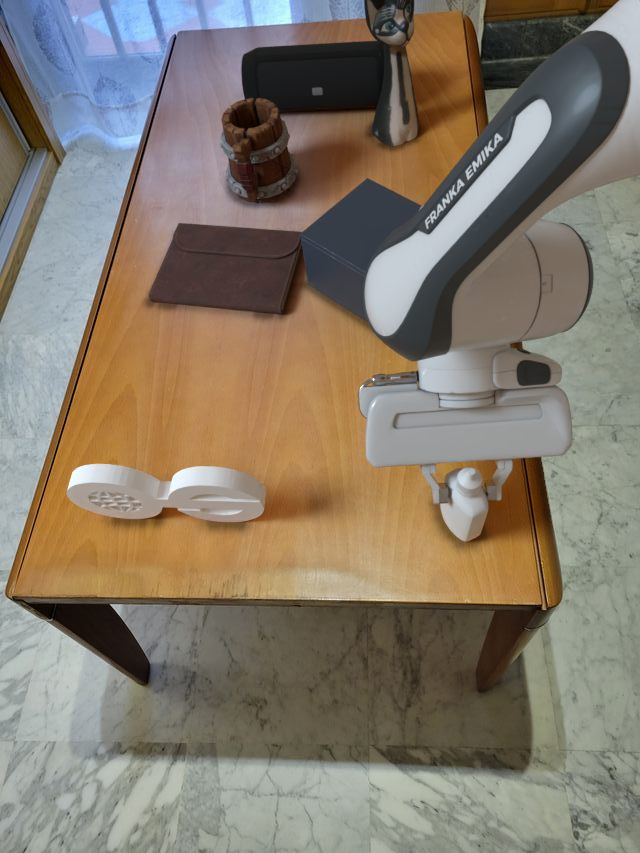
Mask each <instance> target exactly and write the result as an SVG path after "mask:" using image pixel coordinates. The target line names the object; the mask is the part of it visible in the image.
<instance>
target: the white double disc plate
mask: <svg viewBox="0 0 640 853" xmlns="http://www.w3.org/2000/svg"><path fill="white" fill-rule="evenodd" d="M260 481H261V480H259V479H258V478H256V477H255V476H253V475H250V474H248V473H246V472H243V471H241V470H237V469H233V468H228V467H223V466H213V465H211V466H209V465H207V466H206V465H205V466H204V465H202V466H201V465H198V466H191V467H186V468H183V469H181V470H179V471H177V472H175V474H174V475H173V476H172V478H171V480H160V479H158V478H156V477H155V476H153V475H151V474H149V473H147V472H145V471H142V470H139V469H136V468H133V467H128V466H125V465H119V464H110V463H90V464H85V465H81V466H79V467H76V468H75V469H73V471H72V473H71V476H70V480H69V482H68V486H67V488H66V497H67V499H69V500H70V501H71V502H72V503H73V504H74V505H76V506H77V507H79V508H81V509H84V510H86V511H88V512H91V513H94V514H98V515H101V516H105V517H110V518H116V519H122V520H123V519H124V520H143V519H148V518H154V517H156V516H158V515H159V514H161V513H162V510H163V508H177V511H179V512H180V513H183V514H185V515H188V516H191V517H193V518H196V519H199V520H205V521H210V522H219V523H240V522H241V523H242V522H248V521H252V520H254V519H257V518H259V517H261V515H262V514H263V513H264V511H265V505H266V495H267V489H266V486H265V484H264V483H261V482H260Z"/></svg>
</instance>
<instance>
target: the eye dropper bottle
mask: <svg viewBox="0 0 640 853" xmlns="http://www.w3.org/2000/svg"><path fill="white" fill-rule="evenodd" d="M483 480H484V478H483V475H482V473H481V472H480V471H479V470H478V469H476V468H474V467H470V466H469V467H464V468H461V467H458V468H455V469H452V470H451V471H449V472H448V473H446V474H445V476H444V480H443V483H446V484H447V487H448V493H449V495H448V498H449V503H446V504H439V506H440V512H441V516H442V518H443V521H444V522H445V525H446V526H447V528H448V530H450V531H451V533H453V535H454V536H455V537H457V538H458V539H459V540H461V541H462V542H466V543H467V542H470V541H471V540H472V541H473V539H476V538H478V537H479V536H480V535H481V534H482V531H483V529H484V528H483V527H484V525H485V522H486V519H487V516H488V512H489V501H488V500H487V496H486V493H485V491H484V489H485V488H484V486H483V485H482V484H483Z"/></svg>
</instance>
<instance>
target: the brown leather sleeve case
mask: <svg viewBox="0 0 640 853" xmlns="http://www.w3.org/2000/svg"><path fill="white" fill-rule="evenodd" d="M302 232H303V231H297V230H295V231H294V230H283V229H268V228H253V227H243V226H242V227H240V226H226V225H214V224H197V223H187V222H186V223H184V222H178V223H177V226H176V228H175V230H174V232H173V235H172V240H171V242H170V244H169V246H168V249H167V251H166V254H165V255H164V258H163V260H162V262H161V265H160V267H159V269H158V272H157V274H156V277H155V279H154V281H153V283H152V286H151V287H150V290H149V293H148V299H149V301H150V302H153V303H162V304H163V303H164V304H171V305H172V304H173V305H182V306H194V307H204V308H213V309H222V310H223V309H224V310H235V311H243V312H244V311H245V312H253V313H254V312H255V313H266V314H276V315H283V314H284V311H285V307H286V304H287V300H288V297H289V293H290V291H291V287H292V284H293V280H294V276H295V273H296V270H297V267H298V265H299V264H298V262H299V260H300V257H301V253H302V251H303V248H302V242H301V236H300V233H302Z"/></svg>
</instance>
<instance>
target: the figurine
mask: <svg viewBox="0 0 640 853" xmlns="http://www.w3.org/2000/svg"><path fill="white" fill-rule="evenodd" d="M363 4H364V6H363V7H364V16H365V17H364V18H365V22H366V26H367V28H368V30H369V33H370V34H371V37H373V39H374V40H375V41H378V42H380V43H381V44H383V45H384V58H385V61H384V78H383V84H382V90H381V94H380V98H379V102H378V106H377V107H376V110H375V113H374V117H373V122H372V126H371V134H372V136H374V137H375V138H376V139H377V140H378V141H379V142H381V143H382V144H384V145H386V146H390V147H398V146H401V145H403V144H404V143H405V142H411V141H413V140H415V139H416V138H417V136H418V132H419V129H420V128H419V127H420V126H419V124H420V121H419V120H420V118H419V112H418V106H417V102H416V101H417V100H416V96H415V91H414V90H415V89H414V85H413V84H414V83H413V77H412V72H411V71H412V70H411V67H410V62H409V57H408V52H407V46H408V45H409V43H410V41H411V39H412V37H413V36H414V33H415V19H414V18H415V17H414V16H415V0H363Z"/></svg>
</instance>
